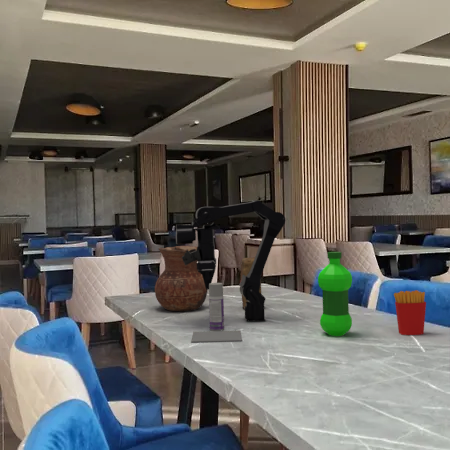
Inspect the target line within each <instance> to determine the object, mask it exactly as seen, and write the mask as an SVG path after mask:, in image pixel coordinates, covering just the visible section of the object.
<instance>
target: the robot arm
mask: <svg viewBox="0 0 450 450" xmlns="http://www.w3.org/2000/svg"><path fill="white" fill-rule="evenodd" d="M251 213H255V214H256V215H257V216H259V218H261V219H262V220H264V223H263V224H264V225H263V234H262V238H261V240H260V243H259V246H258V249H257V251H256V254H255V256H254V257H255V259H254V262H253V264H252V267H251V270H250V272H249V273H248V275H247V276H245V275H243V276H242V280H241V279H240V283H239V284H238V286H239V292H240V294H241V296H242V295H243V296H244V297H245V298H246V301H248V302H246V306H245V307H244V308H245V309H244V308H243V309H244V320H246V322H265V321H266V318H265V317H266V316H265V302H266V298H267V297H265V296H264V295H263V294H262V292H261V293H260V292H259V290H260V284H261V285H262V279H261V278H262V275H263V272H264V269H265V265H266V264H267V261H268V258H269V256H270V254H271V250H272V247H273V244H274V243H275V239H276V238H277V237H278V235H279V234H280V233H281V231H282V229H283V227H284V225H286V217H285V215H284V214H283V213H282V212H279V211H275V210H274V209H272V208H271V207H269V206H267V205H265V204H264V203H263V202H262V201H260V200H258V199H257V200H253V201H249V202H243V203H237V204H230V205H225V206H202V207H199V208H198V209H197V210H196V212H195V218H194V220H193V221H192V222H191V224H176V225H175V228H176V229H175V244H176V245H189V244H190V245H191V244H194V241H196V240H197V246H196V247H197V250H196V251H194V252H192V253H190V252H189V251H188V252H186V253H185V254H184V256H182V259H183V262H184V264H185V265H188V264H189V263H191V262H193V261H196V260H197V271H198V272H199V273H201V274H202V276H203V280H204V283H205V287H206V290H207V291H209V284H210V283H213V279H214V275H215V273H216V268H217V258H216V256H215V255H216V252H215V238H214V237H215V234H214V233H215V232H214V230H219V229H220V227H219V226H218V225H216V223H215V222H214V221H218V220H219V219H222V218H225V217H226V218H227V217H232V216H236V215H237V216H238V215H243V214H251ZM211 222H212V223H211ZM209 223H211V224H209ZM202 225H203V226H202ZM200 226H202V227H201V228H199V227H200ZM195 227H198V228H195ZM196 236H197V237H196Z"/></svg>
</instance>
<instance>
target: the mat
mask: <svg viewBox="0 0 450 450" xmlns="http://www.w3.org/2000/svg"><path fill="white" fill-rule="evenodd" d="M230 342H234V343H235V342H243V337H242V332H241V329H239V330H222V331H211V330H208V331H207V330H206V331H205V330H204V331H202V330H201V331H193V332H192V337H191V340H190V343H191V344H194V343H199V344H200V343H230Z"/></svg>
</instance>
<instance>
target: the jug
mask: <svg viewBox="0 0 450 450" xmlns="http://www.w3.org/2000/svg"><path fill="white" fill-rule="evenodd" d="M197 247H198V246H191V245H178V246H177V245H176V246H168V247H158V250H159V252H160V254H161V255H162V258H163V260H164V270H163V271H162V272H161V274H160V275H159V277H158V279H156V281H155V285H154V295H155V298H156V301H158V303H159V305H160V306H161V307H162V308H164V309H165V310H167V311H171V312H189V311H195V310H196V311H197V310H199V309H200V307H202V305H203V304H204V303H205V301H206V299H207V296H208V290H206V287H205V283H204V280H203V276H202V274H201V273H199V272H198V271H197V263H198V262H197V260H196V261H193V262H191V263H189V264H188V265H185V264H184V262H183V259H182V256H184V254H185V253H186V252H188V251H189V252H190V253H192V252H194V251H196V250H197Z"/></svg>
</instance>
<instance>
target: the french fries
mask: <svg viewBox="0 0 450 450" xmlns="http://www.w3.org/2000/svg"><path fill="white" fill-rule="evenodd" d="M425 295H426V292H425V291H423V292H422V291H419V290H418V289H416V290H405V291H403V290H400V291H399V292H394V293H393V296H394V299H395V302H394V305H395V311H396V320H397V328H398V334H400V335H402V336H419V335H424V332H425V323H426V322H425V321H426V311H427V310H426V309H427V302H426V301H425V298H426V297H425Z"/></svg>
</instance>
